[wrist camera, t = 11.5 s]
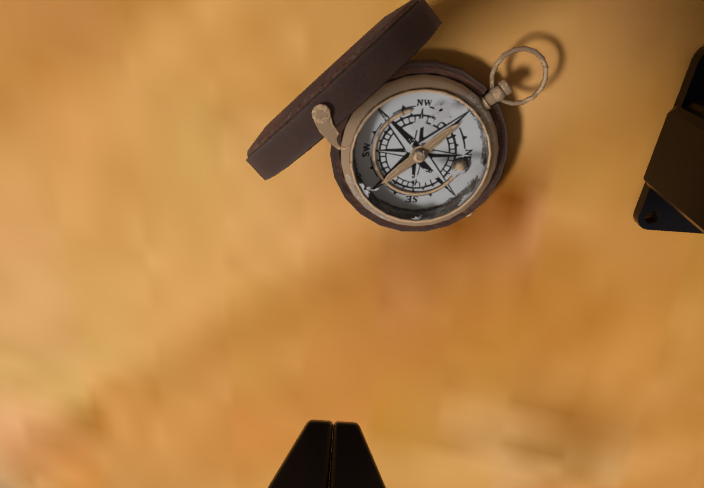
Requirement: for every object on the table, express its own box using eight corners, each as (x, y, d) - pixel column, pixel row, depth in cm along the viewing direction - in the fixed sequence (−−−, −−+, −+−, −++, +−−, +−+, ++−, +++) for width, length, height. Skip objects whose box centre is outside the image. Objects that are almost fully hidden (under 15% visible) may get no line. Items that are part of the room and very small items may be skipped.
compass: (405, 250, 21) (421, 381, 15) (264, 102, 18) (209, 185, 12) (584, 123, 18) (700, 218, 12) (451, -76, 15) (510, -91, 9)
